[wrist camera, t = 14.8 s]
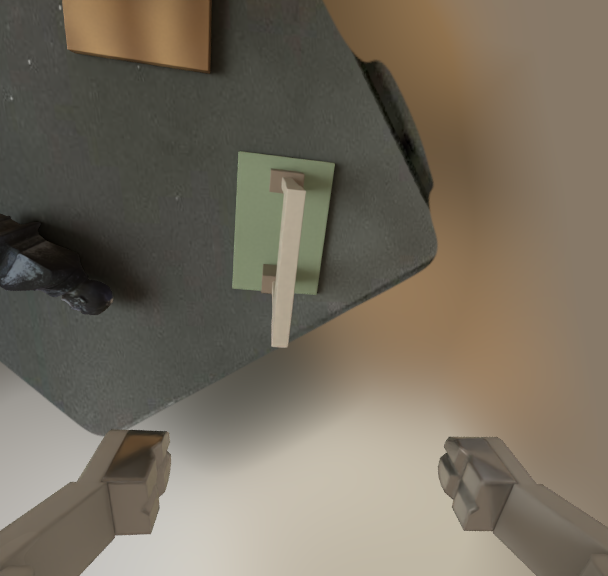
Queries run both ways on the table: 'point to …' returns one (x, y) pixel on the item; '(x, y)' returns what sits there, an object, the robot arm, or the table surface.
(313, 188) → the mat
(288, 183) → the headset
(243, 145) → the table surface
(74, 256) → the dark knob-ended part
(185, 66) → the stand
